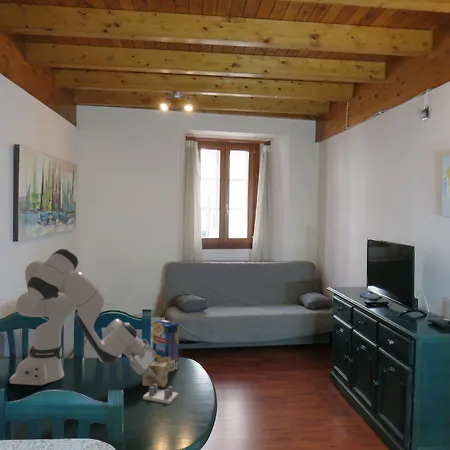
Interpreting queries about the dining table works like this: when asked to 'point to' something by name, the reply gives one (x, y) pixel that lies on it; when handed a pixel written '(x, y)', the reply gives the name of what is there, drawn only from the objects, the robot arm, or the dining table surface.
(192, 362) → the dining table surface
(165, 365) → the tan wooden block
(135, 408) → the dining table surface
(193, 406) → the dining table surface
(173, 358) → the beverage box
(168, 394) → the peg stand
